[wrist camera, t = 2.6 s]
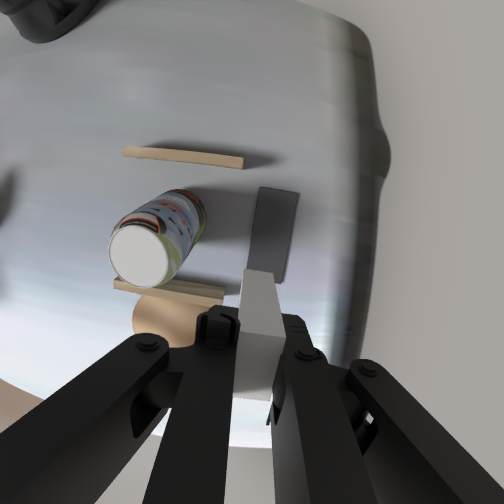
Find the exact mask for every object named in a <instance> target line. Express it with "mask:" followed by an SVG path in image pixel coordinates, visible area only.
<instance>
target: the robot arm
mask: <svg viewBox="0 0 504 504" xmlns="http://www.w3.org/2000/svg"><path fill="white" fill-rule="evenodd" d="M97 1H98V0H0V12H1V13H3V14H5V15H7V16H9V18H10V19H11V21H12V22H13V24H14V25H15V27H16V28H17V29H18V31H19V33H20V35H21V36H22V37H23V38H25V39H27V40H29V41H31V42H33V43H37V44H40V43H45V42H49V41H51V40H53V39H55V38H57V37H59V36H61V35H62V34H64V33H65V32H67V31H68V30H70V29H71V28H72V27H73V26H75V25H76V24H77V23H78V22H79V21H80V20H81V19H82V18H83V17H84V16H85V15H86V14H87V13H88V12H89V11H90V10H91V9H92V8H93V6H94V5H95V4H96V2H97ZM308 333H309V332H308V330H307V327H306V324H305V321H304V320H303V319H301V318H300V317H299V316H298V315H291V314H283V313H281V310H280V305H279V300H278V295H277V291H276V286H275V281H274V276H273V273H269V272H263V271H256V270H249V269H244V271H243V277H242V284H241V290H240V296H239V303H238V308H234V307H228V306H222V305H216V304H215V305H214V306H212V307H211V308H209V310H208V311H206V312H203V313H200V314H199V315H198V316H197V320H196V331H195V341H194V344H193V345H190V346H187V347H169V342H168V341H167V340H166V339H165V338H164V337H162V336H160V335H157V334H153V333H138V334H135V335H132V336H130V337H129V338H127V339H126V340H125V341H123V342H122V343H121V344H119V345H118V346H117V347H115V348H114V349H113V350H111V351H110V352H109V353H107V354H106V355H105V356H103V357H102V358H101V359H99V360H98V361H96V362H95V363H94V364H92V365H91V366H90V367H88V368H87V369H86V370H84V371H83V372H82V373H80V374H79V375H78V376H76V377H75V378H74V379H72V380H71V381H70V382H68V383H67V384H66V385H64V386H63V387H62V388H60V389H59V390H58V391H56V392H55V393H54V394H52V395H51V396H49V397H48V398H47V399H45V400H44V401H43V402H42V403H40V404H39V405H38V406H36V407H35V408H34V409H32V410H31V411H29V412H28V413H27V414H25V415H24V416H23V417H21V418H20V419H19V420H17V421H16V422H15V423H13V424H12V425H11V426H9V427H8V428H7V429H6V430H4V431H3V432H2V433H0V504H94V503H95V502H96V501H97V500H98V499H99V497H100V496H101V495H102V494H103V492H104V491H105V490H106V489H107V488H108V486H109V485H110V484H111V483H112V482H113V480H114V479H115V478H116V477H117V475H118V474H119V473H120V472H121V470H122V469H123V468H124V467H125V465H126V464H127V463H128V462H129V461H130V459H131V458H132V457H133V455H134V454H135V453H136V452H137V450H138V449H139V448H140V447H141V445H142V444H143V443H144V442H145V440H146V439H147V438H148V436H149V435H150V434H151V433H152V431H153V430H154V429H155V427H156V426H157V425H158V424H159V422H160V421H161V420H162V418H163V417H164V416H165V415H166V413H167V411H168V409H169V408H172V409H171V412H170V415H169V418H168V421H167V425H166V428H165V431H164V434H163V437H162V440H161V443H160V447H159V450H158V453H157V456H156V459H155V463H154V466H153V469H152V472H151V476H150V479H149V482H148V485H147V489H146V492H145V496H144V499H143V502H142V504H224V496H225V483H226V470H227V457H228V446H229V434H230V422H231V410H232V399H233V397H236V398H244V399H253V400H262V401H270V398H271V394H272V393H273V402H272V405H271V408H270V412H269V415H268V419H267V422H266V425H269V424H270V421H271V435H272V451H273V467H274V485H275V502H276V503H275V504H504V489H503V488H502V487H501V486H500V485H499V484H498V483H497V482H496V481H495V480H494V479H493V478H492V477H491V476H490V475H489V474H488V472H486V470H485V469H484V468H483V467H482V466H481V465H480V464H479V463H478V462H477V461H476V460H475V459H474V458H473V457H472V456H471V455H470V454H469V453H468V452H467V451H466V450H465V449H464V448H463V447H462V446H461V445H460V444H459V443H458V442H457V441H456V440H455V439H454V438H453V437H452V436H451V435H450V434H449V433H448V432H447V431H446V430H445V428H444V427H442V425H441V424H440V423H439V422H438V421H437V420H436V419H435V418H434V417H433V416H431V414H430V413H428V411H427V410H426V409H425V408H423V406H422V405H421V404H420V403H419V402H418V401H417V400H416V399H415V398H414V397H413V396H412V395H411V394H410V393H409V392H408V391H407V390H406V389H405V388H404V387H403V386H402V385H401V384H400V383H399V382H397V380H396V379H395V378H394V377H393V376H392V375H391V374H390V373H389V372H388V371H387V370H386V369H385V368H383V367H382V366H381V365H380V364H378V363H376V362H374V361H372V360H368V359H357V360H353V361H352V362H351V363H350V364H349V367H348V369H345V368H341V367H337V366H334V365H330V364H328V361H327V359H326V356H325V355H324V353H323V352H322V351H320V350H319V349H317V348H315V347H313V344H312V341H311V338H310V335H309V334H308ZM368 413H370V415H371V416H372V417H373V418H374V419H373V421H372V423H371V424H370V423H369V422H368V421H367V420H366V417H367V415H368Z"/></svg>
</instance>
